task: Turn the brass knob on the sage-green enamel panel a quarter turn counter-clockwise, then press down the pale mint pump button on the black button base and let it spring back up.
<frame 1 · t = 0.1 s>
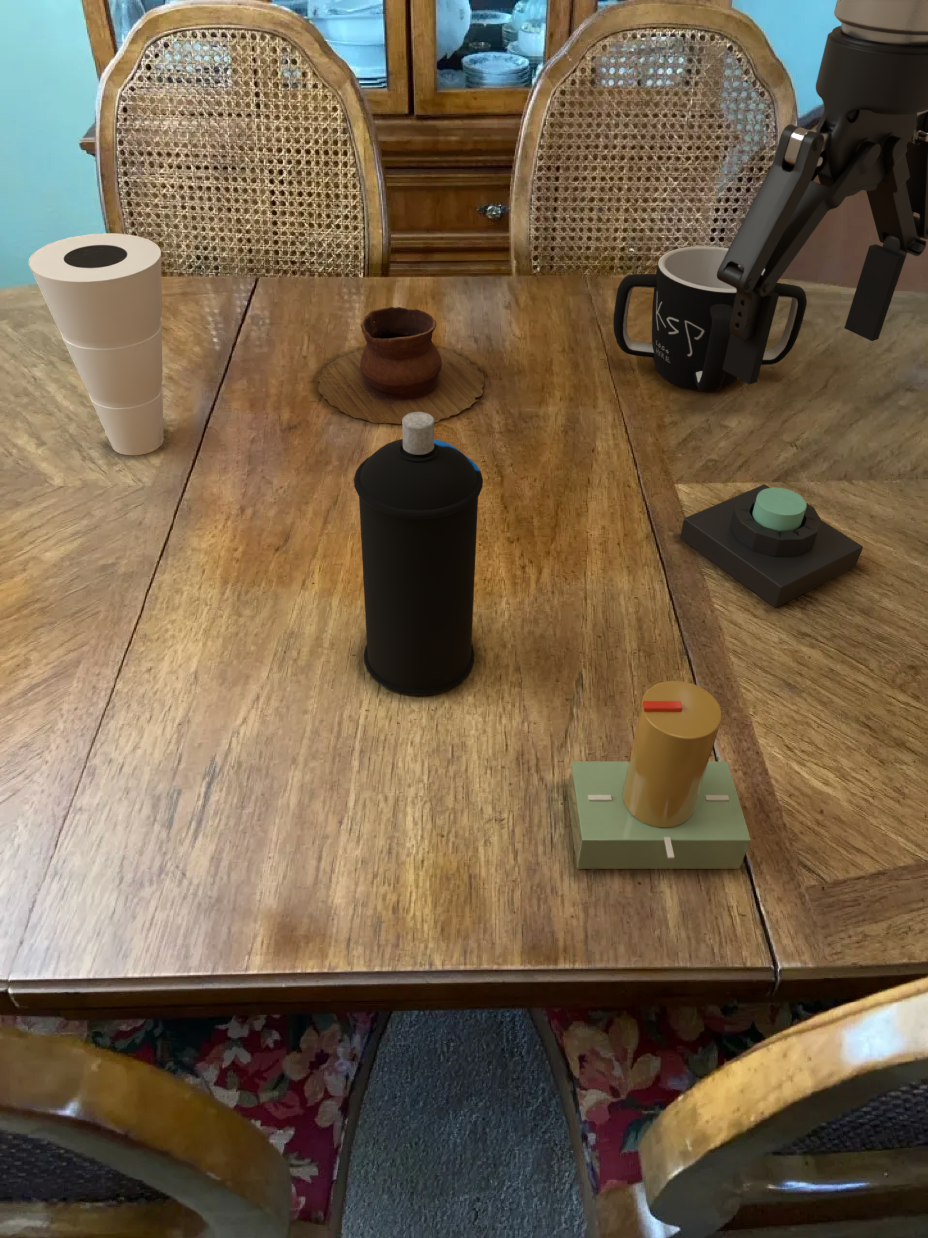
hand: (802, 354, 73), 17 cm above the table, tool pointing down, fingers open, 13 cm apart
dial: (669, 753, 56), point 7 cm above the table, hinge at 0.0°
aerosol can: (419, 659, 72), on the table
dial panel: (650, 828, 61), on the table
mug: (695, 375, 107), on the table
cream tapered cylinder: (138, 443, 93), on the table
pump button: (779, 509, 80), point 4 cm above the table, slide at 0.1 cm
ceramic pot: (401, 384, 103), on the table
button base: (766, 552, 83), on the table
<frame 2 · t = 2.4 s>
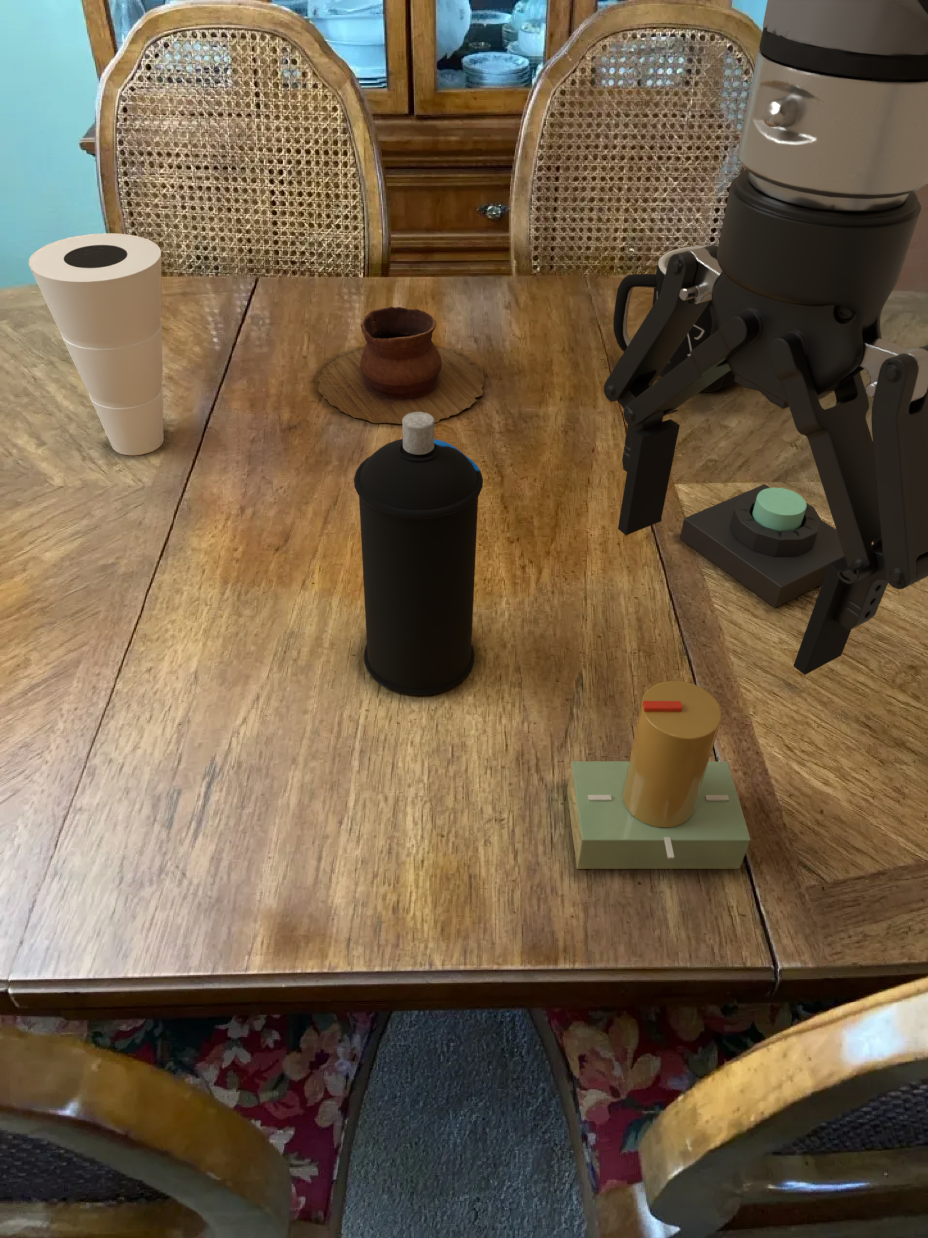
hand: (721, 588, 53), 16 cm above the table, tool pointing down, fingers open, 13 cm apart
nothing on the table moved.
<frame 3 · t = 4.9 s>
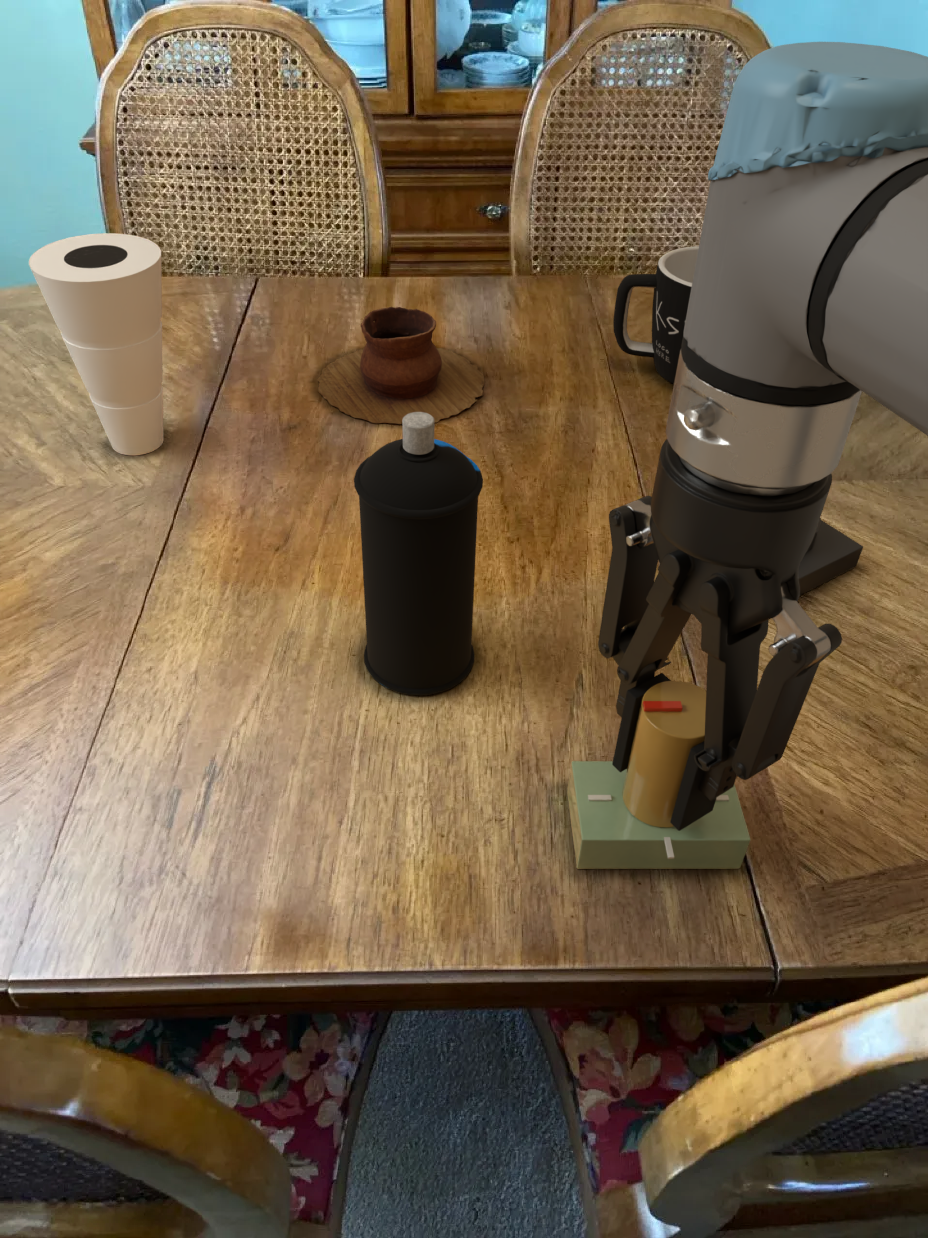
hand: (661, 786, 58), 4 cm above the table, tool pointing down, fingers closed on dial, 4 cm apart
dial: (669, 753, 56), point 7 cm above the table, hinge at 0.0°, touching gripper
everything else where it was.
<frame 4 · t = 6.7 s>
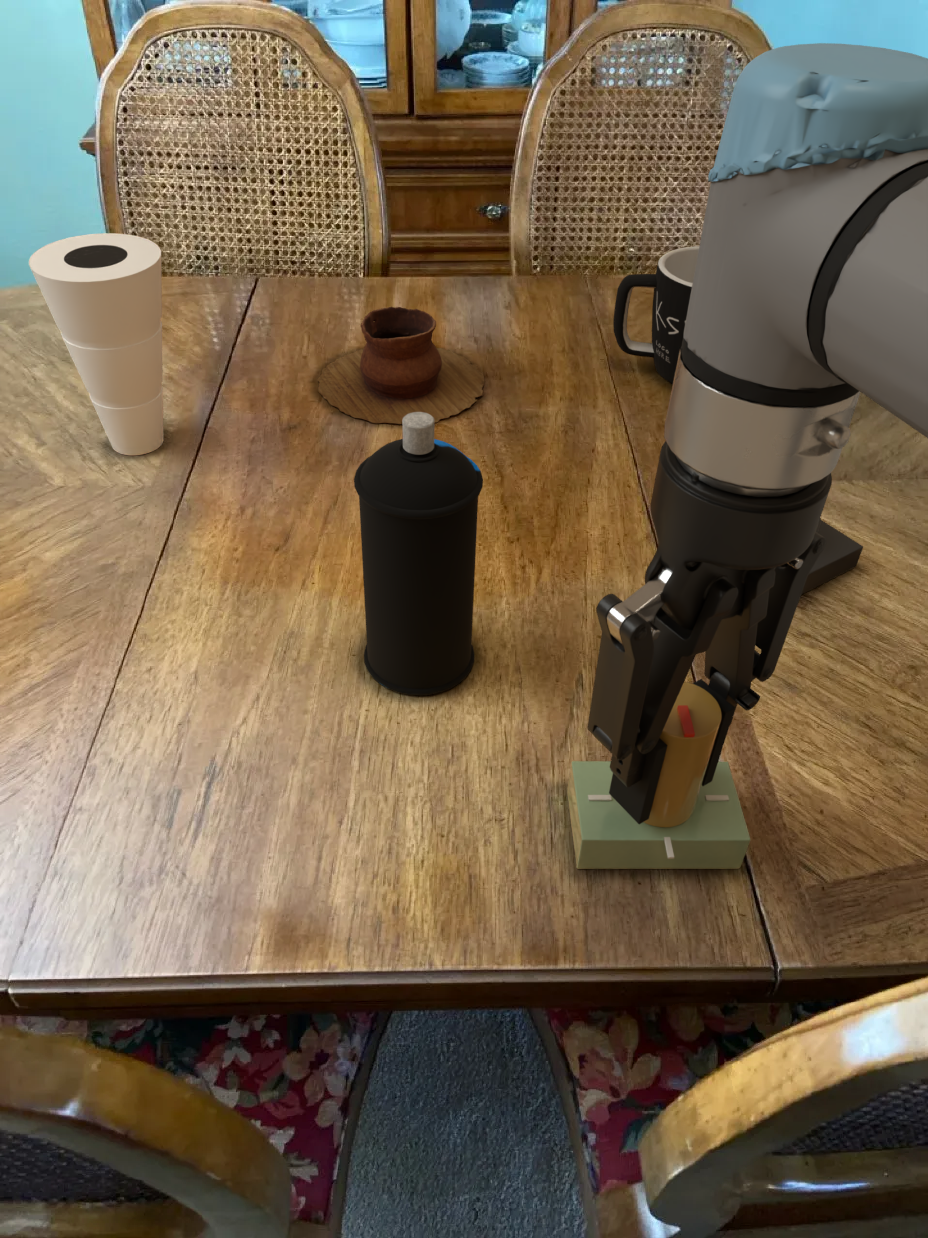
hand: (660, 786, 58), 4 cm above the table, tool pointing down, fingers open, 4 cm apart
dial: (669, 753, 56), point 7 cm above the table, hinge at 89.7°
everything else where it was.
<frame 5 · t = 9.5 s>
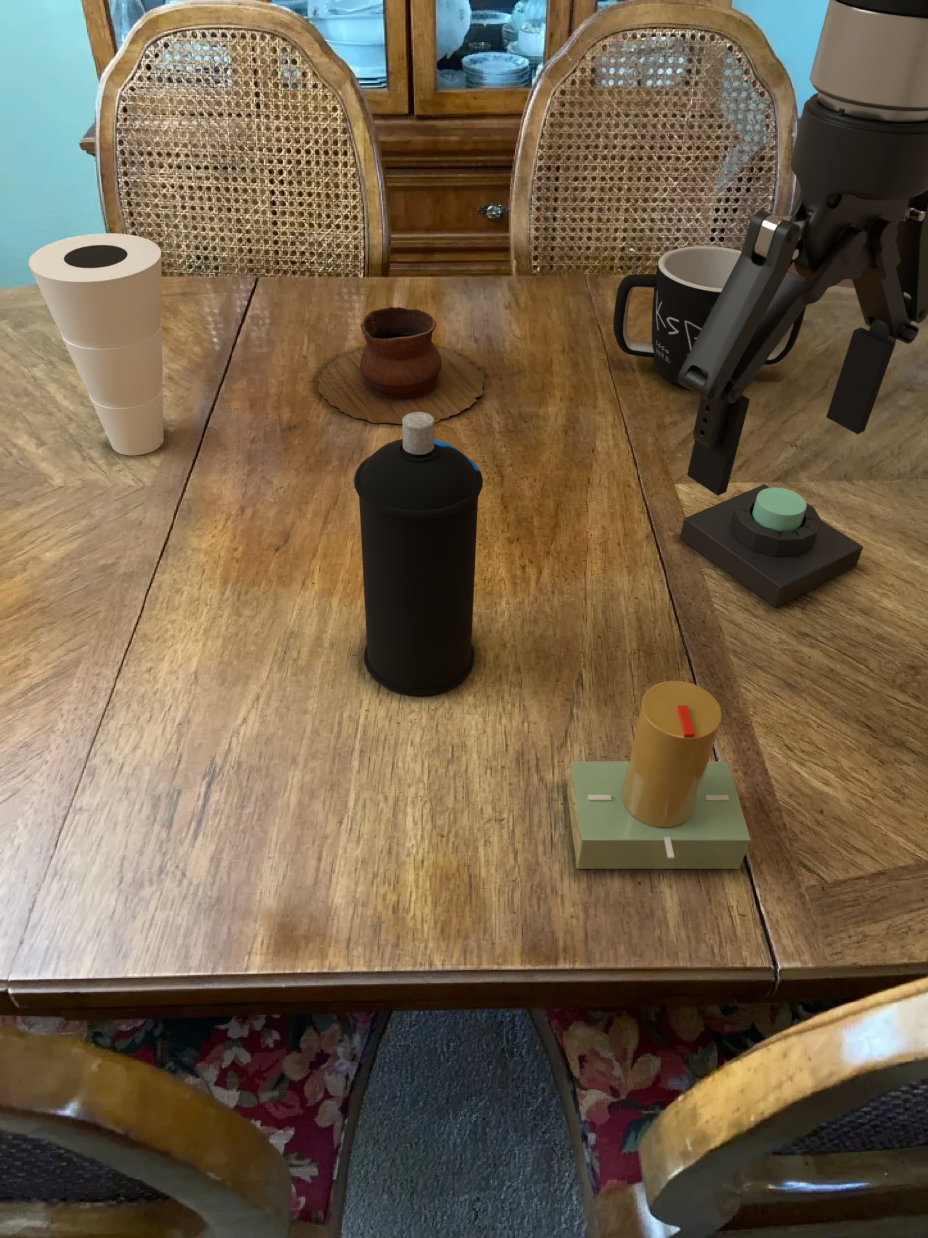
hand: (778, 453, 64), 16 cm above the table, tool pointing down, fingers open, 13 cm apart
nothing on the table moved.
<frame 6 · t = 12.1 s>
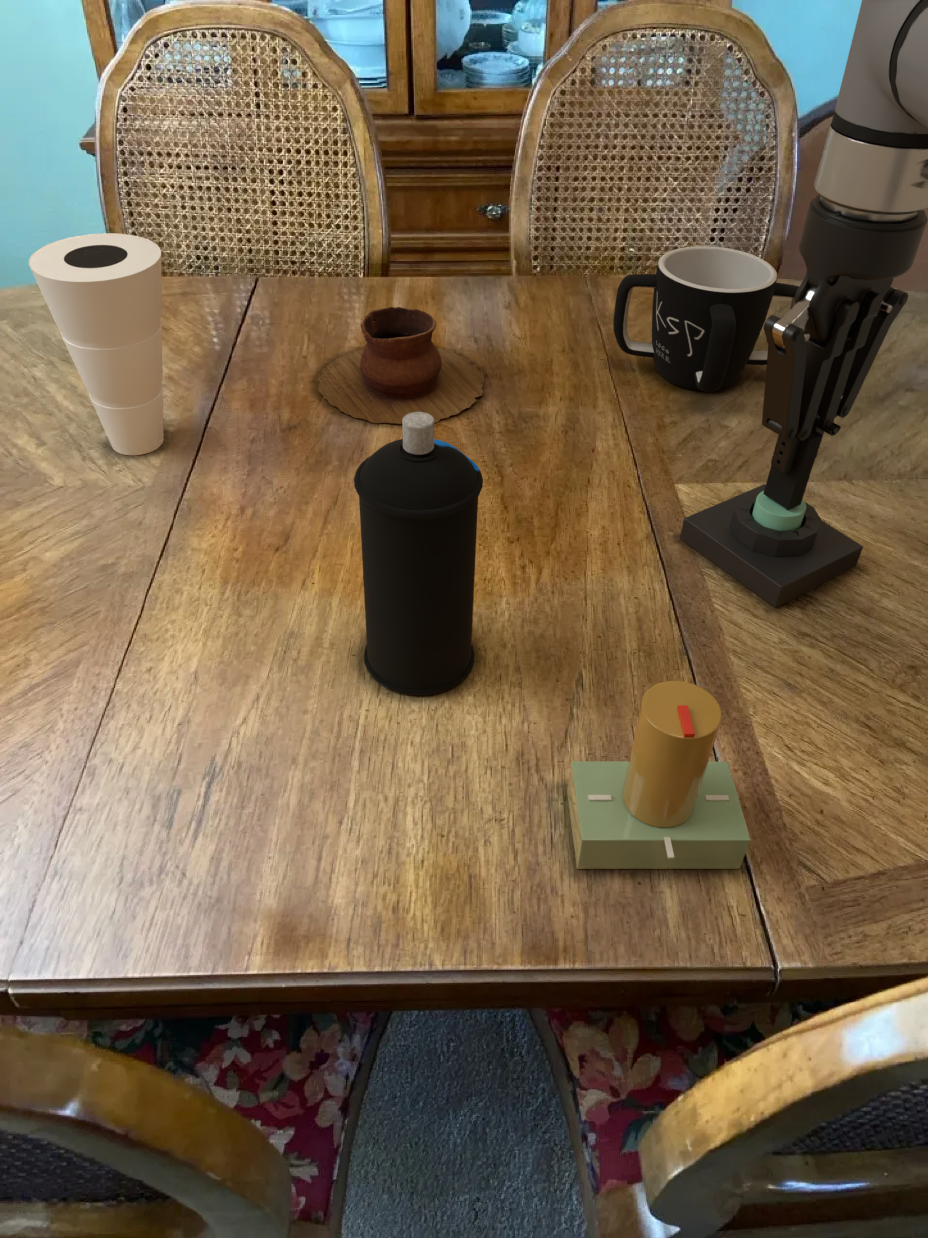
hand: (781, 498, 79), 5 cm above the table, tool pointing down, fingers closed
pump button: (778, 510, 80), point 4 cm above the table, slide at 0.0 cm, touching gripper
everything else where it was.
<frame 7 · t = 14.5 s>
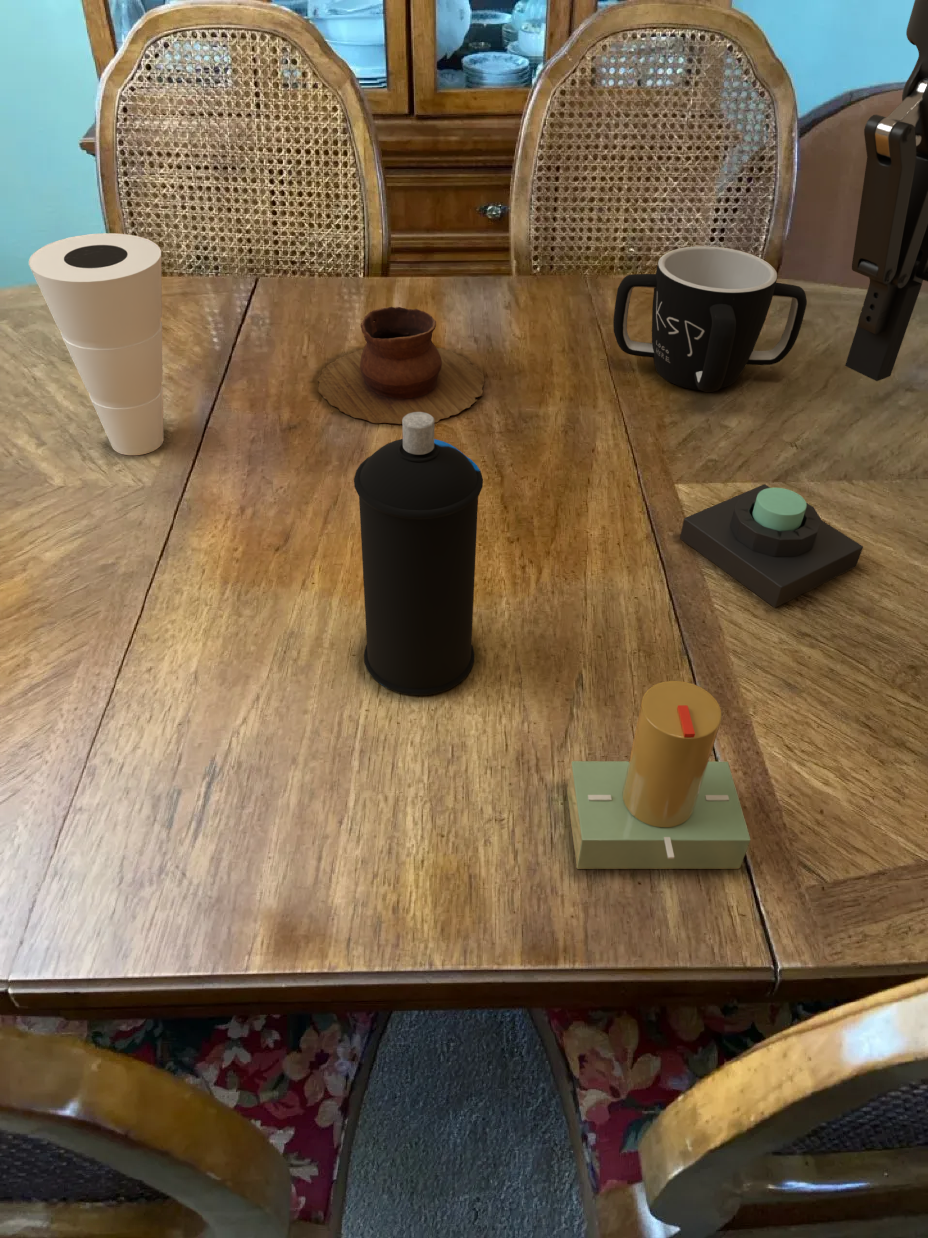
hand: (867, 370, 67), 19 cm above the table, tool pointing down, fingers closed
pump button: (779, 509, 80), point 4 cm above the table, slide at 0.1 cm
everything else where it was.
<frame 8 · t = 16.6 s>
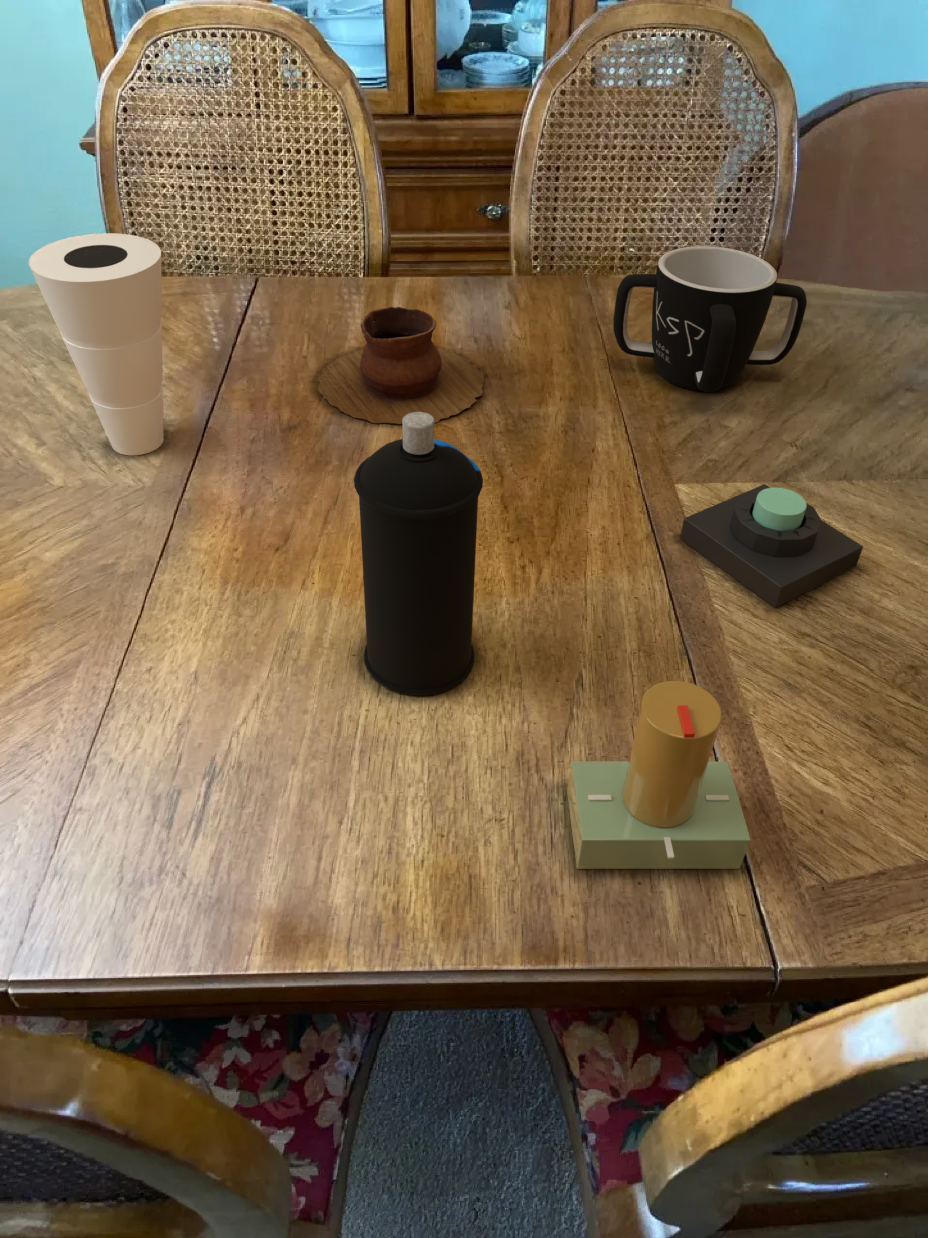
nothing on the table moved.
at the end: dial at +90° (first picture: +0°); pump button pushed in 1.0 cm at the most during the clip, back to where it started at the end; pump button slide at 0.1 cm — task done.
